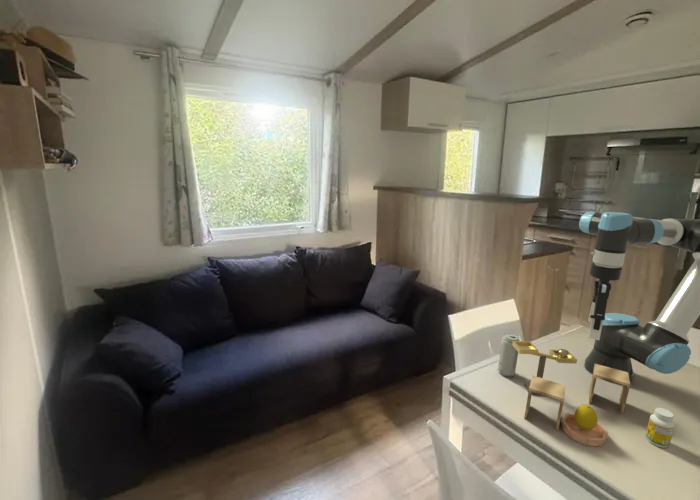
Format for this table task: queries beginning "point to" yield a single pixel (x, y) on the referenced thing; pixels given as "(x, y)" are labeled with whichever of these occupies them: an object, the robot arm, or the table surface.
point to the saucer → (584, 432)
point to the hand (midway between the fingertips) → (593, 330)
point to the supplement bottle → (660, 428)
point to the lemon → (586, 417)
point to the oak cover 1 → (546, 393)
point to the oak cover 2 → (612, 376)
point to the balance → (543, 357)
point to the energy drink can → (508, 356)
